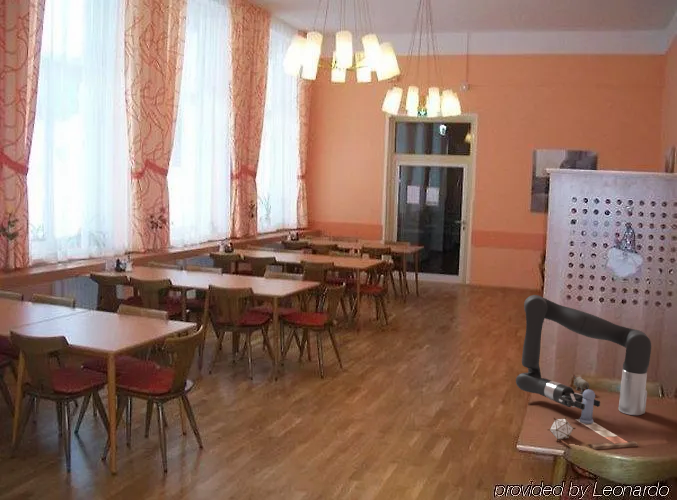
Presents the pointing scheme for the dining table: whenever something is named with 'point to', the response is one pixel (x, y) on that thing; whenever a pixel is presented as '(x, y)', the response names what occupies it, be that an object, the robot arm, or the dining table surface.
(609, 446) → the game board
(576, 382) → the rhino figurine
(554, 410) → the dining table surface
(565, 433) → the game die
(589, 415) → the pawn
